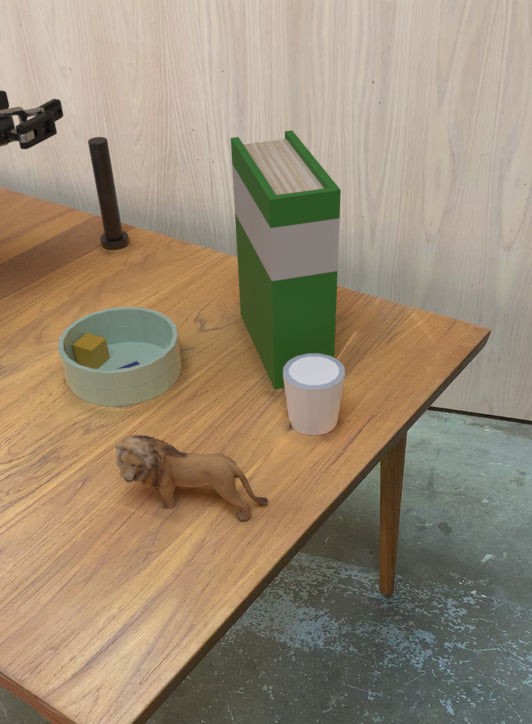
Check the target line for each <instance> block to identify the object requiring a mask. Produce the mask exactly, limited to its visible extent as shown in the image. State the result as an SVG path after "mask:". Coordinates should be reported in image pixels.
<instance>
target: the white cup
mask: <svg viewBox="0 0 532 724" xmlns="http://www.w3.org/2000/svg"><path fill="white" fill-rule="evenodd" d="M345 378H346V368H345V366H344V364H343V363H342V362H341V361H340V360H339V359H337V358H336V357H335V356H334V357H332V356H329V355H324V354H320V353H308V354H303V355H299V356H296V357H294V358H293V359H291V360H289V361H288V362H287V363H286V364H285V366H284V367H283V379H284V387H285V388H284V393H285V403H286V409H287V418H288V421H289V422H290V427H291V429H293V430H294V431H296V432H297V433H299V434H302V435H306V436H321V435H325V434H328V433H329V432H331V431H333V430H334V429H335V428H336V426H337V425H338V422H339V414H340V409H341V403H342V395H343V390H344V383H345Z"/></svg>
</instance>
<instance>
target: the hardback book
mask: <svg viewBox="0 0 532 724" xmlns="http://www.w3.org/2000/svg"><path fill="white" fill-rule="evenodd" d="M230 151H231V167H232V168H231V169H232V170H231V171H232V183H233V184H232V185H233V187H232V189H233V200H234V204H233V205H234V219H235V238H236V239H235V240H236V257H237V272H238V274H237V275H238V291H239V306H240V307H239V309H240V310H239V311H240V316H241V319H242V321H243V323H244V325H245V328H246V330H247V332H248V334H249V336H250V338H251V340H252V341H251V342H252V343H253V346H254V347H255V349H256V352H257V354H258V356H259V358H260V361H261V363H262V365H263V367H264V370H265V372H266V374H267V376H268V379H269V381H270V383H271V385H272V388H273V390H280V389H285V387H284V379H283V367H284V366H285V364H286V363H287V362H288V361H289V360H291V359H293V358H294V357H296V356H299V355H303V354H308V353H320V354H324V355H329V356H332V357H334V358H335V347H336V326H337V325H336V323H337V322H336V320H337V318H336V317H337V296H338V295H337V293H338V270H339V245H340V243H339V242H340V222H341V221H340V219H341V193H342V189H341V188H340V187H339V186H338V184H337V183H336V182H335V181H334V180H333V178H332V177H331V176H330V174H329V173H328V172H327V171H326V170H325V169H324V167H323V166H322V165H321V164H320V163H319V161H318V160H317V159H316V157H315V156H314V155H313V154H312V153H311V151H310V150H309V149H308V148H307V147H306V145H305V144H304V143H303V141H302V140H301V139H300V137H298V135H297V134H296V133H295V132H294V130H292V129H291V130H285V131H284V139H275V140H267V141H258V142H251V143H243V142H242V140H241V139H240V137H239V136H234V137H230Z"/></svg>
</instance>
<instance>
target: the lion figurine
mask: <svg viewBox="0 0 532 724" xmlns="http://www.w3.org/2000/svg"><path fill="white" fill-rule="evenodd" d="M114 447H115V450H116V452H115V454H116V466H117V467H118V468H119V470H120V471H119V477H120V478H122V479H124V481H125V483H127V484H132V483H133V482H136V483H139V482H140V483H142V485H143V486H144V487H147V488H154V489H156V488H157V489H158V491H159V494H160V496H161V498H162V500H163V502H164V504H163V505H162V506H161V509H162V510H173V509H174V507H176V502H175V499H174V492H175V490H176V487H178V486H179V487H183V488H199V487H204V486H206V485H208V484H210V485H212V486H213V487H214V489H215V491H216V492H217V493H218V495H219V496H220V497H222V499H224V500H225V501H226V502H228V503H229V504H231V505H233V506H235V507H237V508H238V509H239V511H238V512H237V513H236V517H237V519H238V520H239V521H240V522H245V521H248V520H249V518H250V517H251V509H250V505H249V502H248V500H246V499H244V498H243V497H242V496H241V495H240V493H239V492H238V490H237V487H236V479H239V480H240V482H241V484H242V486H243V488H244V490H245V491H246V493H247V495H248V496H249V498H250V499H251V500H252V501H254V502H256V504H260V505H264V504H268V502H269V499H268V498H267V497H263V496H262V497H261V496H256V495H255V494H254V491H253V490H252V488H251V487H252V486H251V485H250V483H249V480H248V478H247V476H246V474H245V473H244V472H243V470H242V468H241V467H239V465H238V464H237V463H236V461H235V460H234V459H233V458H231V457H230V456H228V455H226V454H223V453H206V454H205V453H204V454H201V453H191V452H183V451H179V450H178V449H177V448H176V447H175V446H173V445H172V444H169V442H166V441H165V440H163V439H159V438H156V437H154V436H149V435H142V434H133V435H129V436H128V435H127V436H125V437H124V438H123V439H121V441H120V442H119V443H118V444H115V445H114Z"/></svg>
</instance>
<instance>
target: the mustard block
mask: <svg viewBox="0 0 532 724" xmlns="http://www.w3.org/2000/svg"><path fill="white" fill-rule="evenodd" d="M72 346H73V350H74V354H75V359H76V363H77V364H79V365H82V366H85V367H89V368H93V369H98V368H99V367H100V366H101V365H102V364H104V363H105V362H106V361H107V360H108V359H109V358H110V356H109V351H108V346H107V341H106V338H103V337H100V336H96V335H93V334H90V333H86V334H85V335H84V336H82V337H81V338H80V339H79V340H77V341H76V342H75V343H74V344H72Z"/></svg>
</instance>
